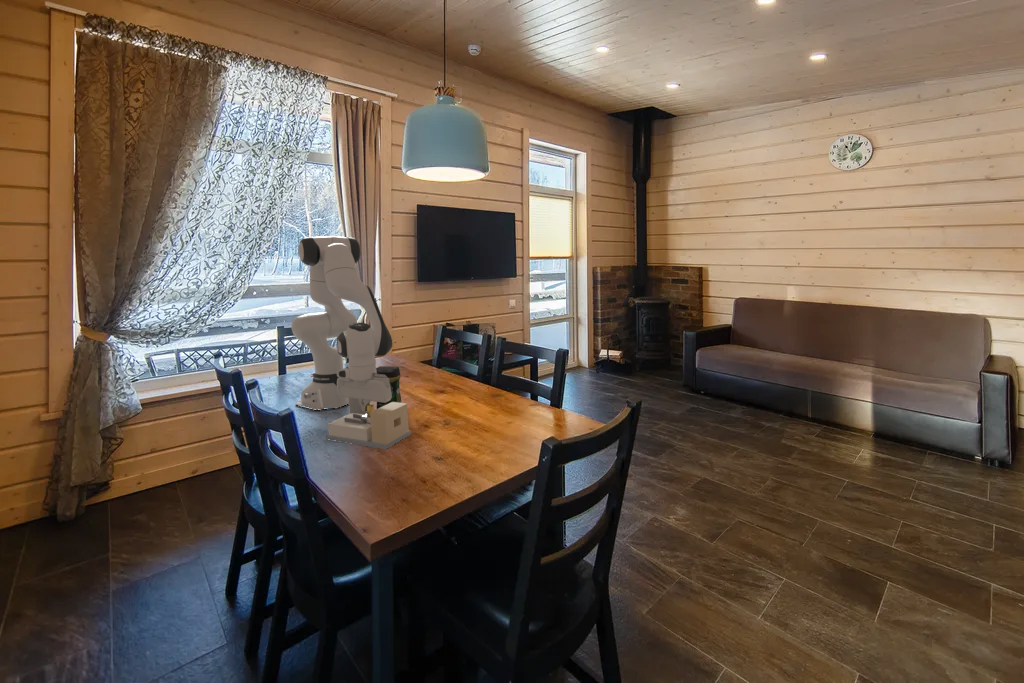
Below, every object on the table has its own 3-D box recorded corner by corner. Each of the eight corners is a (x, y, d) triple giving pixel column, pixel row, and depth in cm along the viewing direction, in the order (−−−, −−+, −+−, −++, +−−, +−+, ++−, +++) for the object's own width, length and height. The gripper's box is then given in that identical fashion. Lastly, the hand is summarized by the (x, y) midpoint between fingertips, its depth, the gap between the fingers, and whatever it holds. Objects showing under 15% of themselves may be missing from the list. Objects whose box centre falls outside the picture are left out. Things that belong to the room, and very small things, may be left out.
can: (349, 415, 190) (347, 385, 188) (369, 413, 193) (367, 383, 191) (350, 421, 184) (348, 390, 181) (371, 418, 186) (369, 388, 184)
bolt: (361, 422, 166) (359, 405, 164) (367, 419, 168) (365, 402, 167) (385, 425, 162) (384, 408, 161) (391, 422, 164) (390, 405, 163)
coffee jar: (374, 415, 191) (370, 368, 187) (381, 408, 198) (378, 364, 195) (398, 415, 189) (395, 369, 186) (404, 409, 197) (402, 364, 194)
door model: (327, 440, 166) (324, 407, 163) (355, 426, 178) (352, 396, 176) (385, 449, 156) (383, 415, 154) (410, 434, 169) (408, 402, 167)
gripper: (394, 372, 162) (396, 412, 165) (345, 367, 170) (348, 405, 172) (382, 377, 156) (385, 418, 159) (332, 371, 164) (335, 410, 167)
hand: (365, 411), depth 166 cm, fingers closed, pressing on bolt
